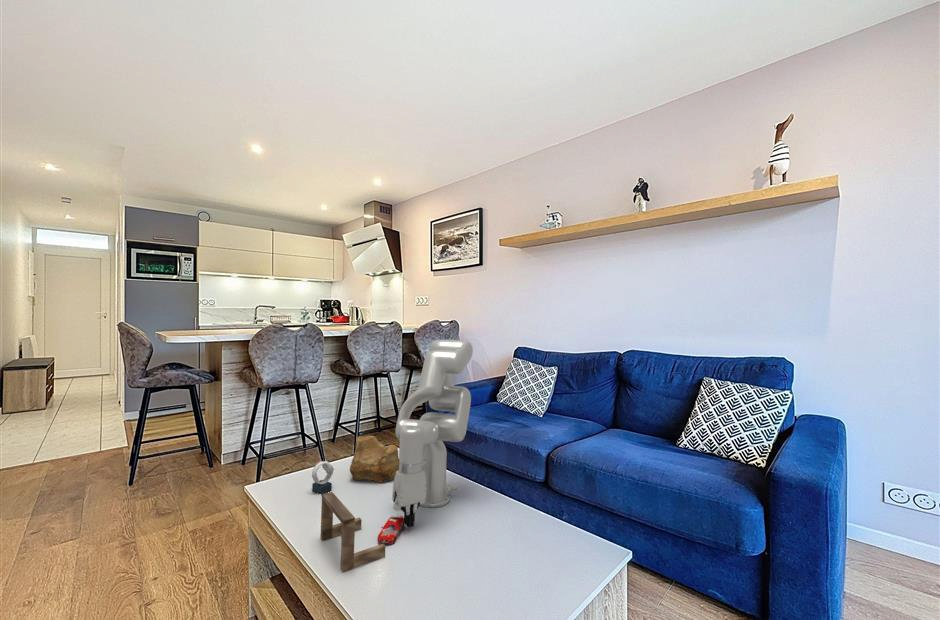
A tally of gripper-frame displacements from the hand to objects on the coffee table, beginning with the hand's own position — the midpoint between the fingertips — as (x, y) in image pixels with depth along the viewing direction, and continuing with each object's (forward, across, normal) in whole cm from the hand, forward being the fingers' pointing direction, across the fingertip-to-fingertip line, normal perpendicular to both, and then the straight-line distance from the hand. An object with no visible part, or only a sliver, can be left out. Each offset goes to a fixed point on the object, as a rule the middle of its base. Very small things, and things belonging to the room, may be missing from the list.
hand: (409, 525), depth 126 cm
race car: (+2, +6, 0) cm, 6 cm away
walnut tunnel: (+1, +18, 0) cm, 18 cm away
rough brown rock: (+1, -6, -45) cm, 45 cm away
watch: (+1, +14, -42) cm, 44 cm away
